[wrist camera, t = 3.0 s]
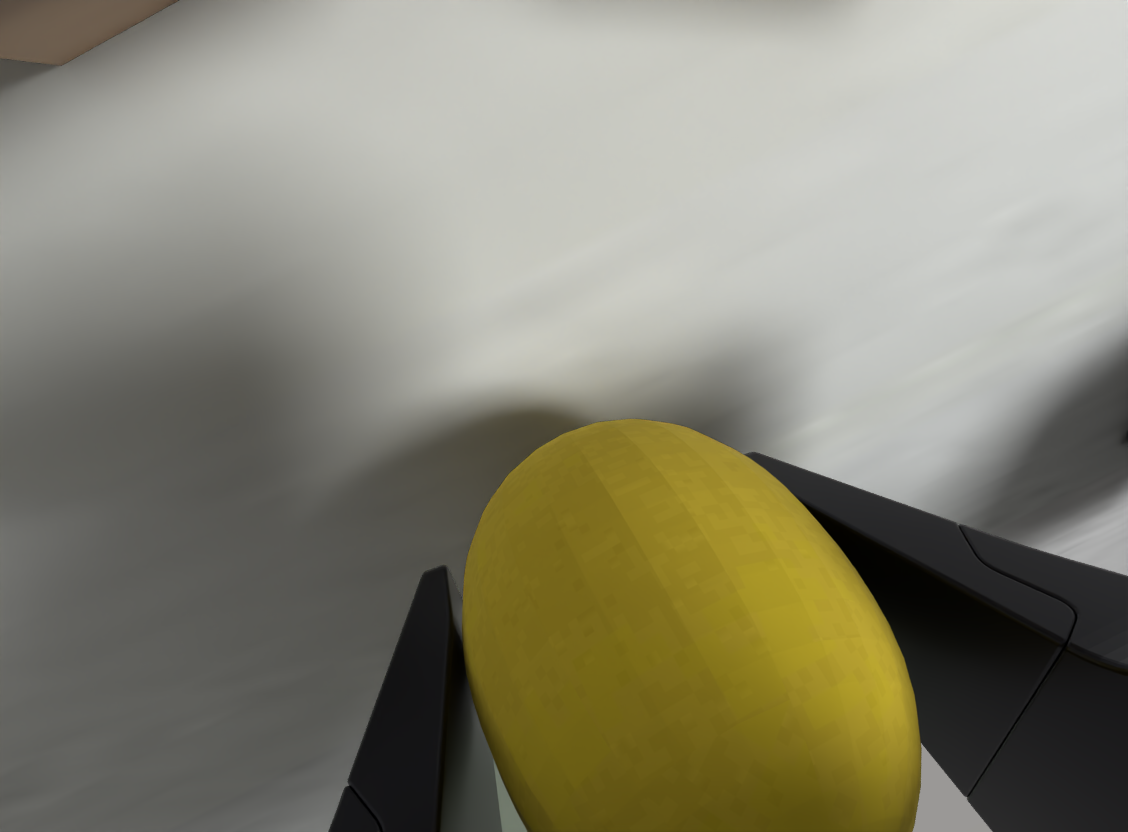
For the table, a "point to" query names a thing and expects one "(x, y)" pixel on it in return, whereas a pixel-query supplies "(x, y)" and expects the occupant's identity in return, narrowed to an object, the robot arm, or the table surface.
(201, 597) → the table surface
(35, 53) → the walnut block
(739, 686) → the lemon
